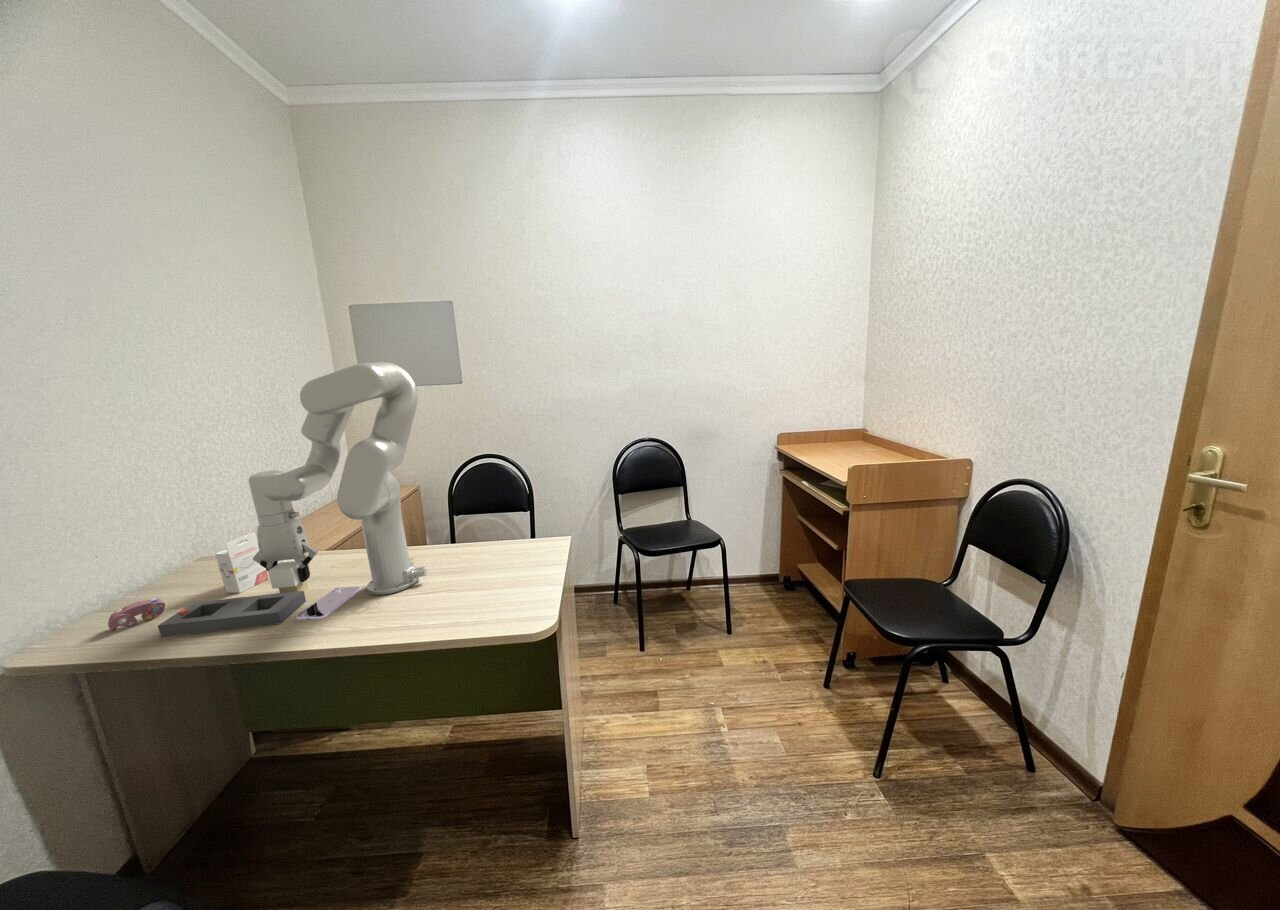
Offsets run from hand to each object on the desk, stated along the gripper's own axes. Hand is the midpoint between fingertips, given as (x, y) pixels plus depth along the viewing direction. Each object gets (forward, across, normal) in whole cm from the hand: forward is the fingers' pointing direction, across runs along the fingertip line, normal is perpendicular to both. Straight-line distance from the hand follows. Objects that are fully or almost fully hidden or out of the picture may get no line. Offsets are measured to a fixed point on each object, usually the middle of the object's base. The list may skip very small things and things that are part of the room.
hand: (291, 580), depth 126 cm
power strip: (+4, +7, +11) cm, 14 cm away
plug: (+4, 0, 0) cm, 4 cm away
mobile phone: (+4, -13, +8) cm, 16 cm away
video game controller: (+4, +32, +8) cm, 33 cm away
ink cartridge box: (+4, +17, -8) cm, 19 cm away
